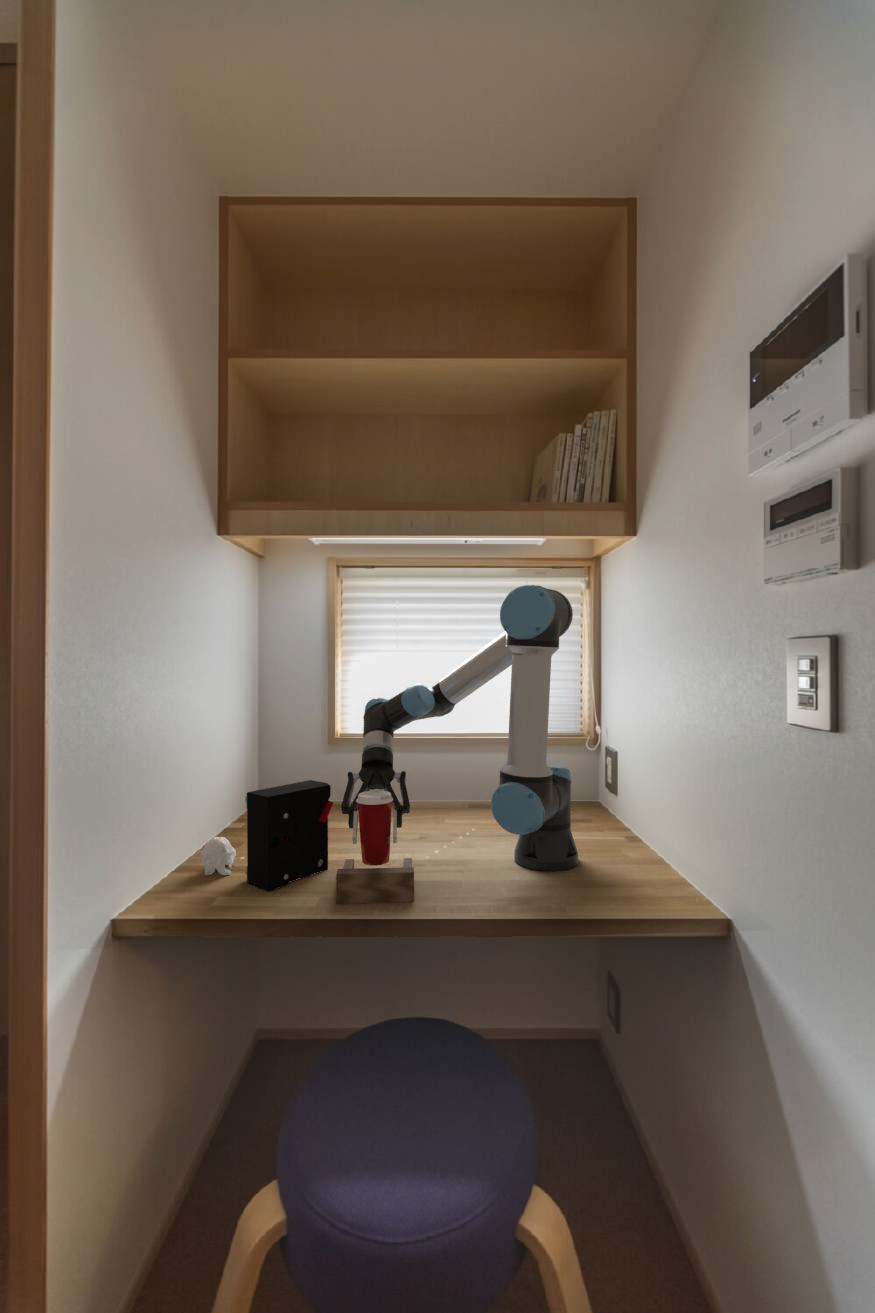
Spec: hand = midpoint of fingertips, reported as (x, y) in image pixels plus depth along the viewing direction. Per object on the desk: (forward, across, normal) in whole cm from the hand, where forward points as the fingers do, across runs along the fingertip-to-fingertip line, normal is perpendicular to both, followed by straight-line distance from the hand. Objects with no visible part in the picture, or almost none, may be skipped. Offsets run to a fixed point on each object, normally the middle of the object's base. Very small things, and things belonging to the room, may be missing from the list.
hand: (374, 840), depth 142 cm
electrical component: (+3, +20, -11) cm, 23 cm away
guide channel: (+6, 0, -7) cm, 9 cm away
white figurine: (-1, +36, -14) cm, 38 cm away
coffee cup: (+2, 0, -6) cm, 7 cm away
